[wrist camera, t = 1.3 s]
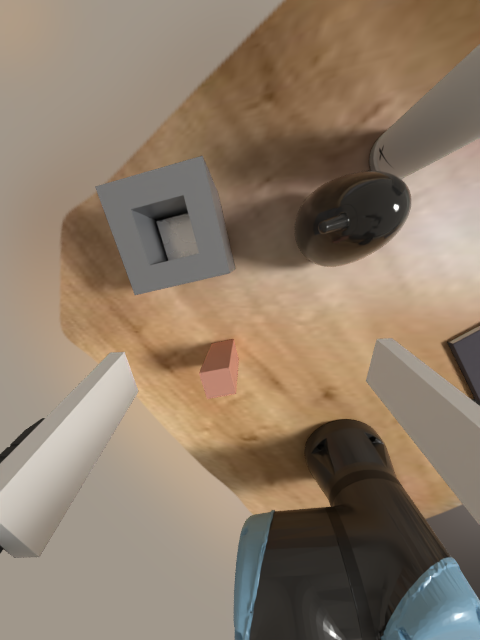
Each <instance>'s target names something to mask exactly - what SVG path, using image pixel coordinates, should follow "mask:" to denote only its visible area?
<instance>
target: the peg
mask: <svg viewBox="0 0 480 640" xmlns="http://www.w3.org/2000/svg"><path fill="white" fill-rule="evenodd" d="M238 363H239V358H238V354H237V350H236V346H235V342H234V339H231V340H226V341H221V342H216V343H212V344H211V346H210V348H209V351H208V353H207V356H206V358H205V360H204V363H203V365H202V367H201V370H200V372H199V375H200V378H201V381H202V384H203V387H204V391H205V394H206V397H207V399H210V398H215V397H221V396H227V395H232V394H236V387H237V375H238Z"/></svg>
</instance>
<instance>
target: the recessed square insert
mask: <svg viewBox="0 0 480 640" xmlns="http://www.w3.org/2000/svg"><path fill="white" fill-rule="evenodd" d="M156 222H157V225H158V228H159V231H160V235H161V238H162V241H163V244H164V248H165V251H166V254H167V257H168V261H170V260H174V259H178V258H182V257H186V256H190V255H194V254H198V253H199V251H198V247H197V244H196V240H195V236H194V233H193V229H192V225H191V221H190V218H189V214H188V213H187V214H183V215H179V216H175V217H172V218H168V219H164V220H160V221H156Z"/></svg>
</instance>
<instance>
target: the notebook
mask: <svg viewBox="0 0 480 640" xmlns="http://www.w3.org/2000/svg"><path fill="white" fill-rule="evenodd" d="M447 343H448V345H449V347H450V349H451V351H452V353H453V355H454V357H455V359H456V361H457V363H458V365H459V367H460V369H461V371H462V373H463V375H464V377H465V379H466V382H467V384H468V386H469V388H470V390H471V392H472V394H473V396H474V398H475V399H476V400H478V401H480V326H478V327H476V328H474V329H472V330H471V331H469V332H467V333H465V334H463V335H461V336H459V337H457V338H456V339H454V340H452V341H450V342H447Z"/></svg>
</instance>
